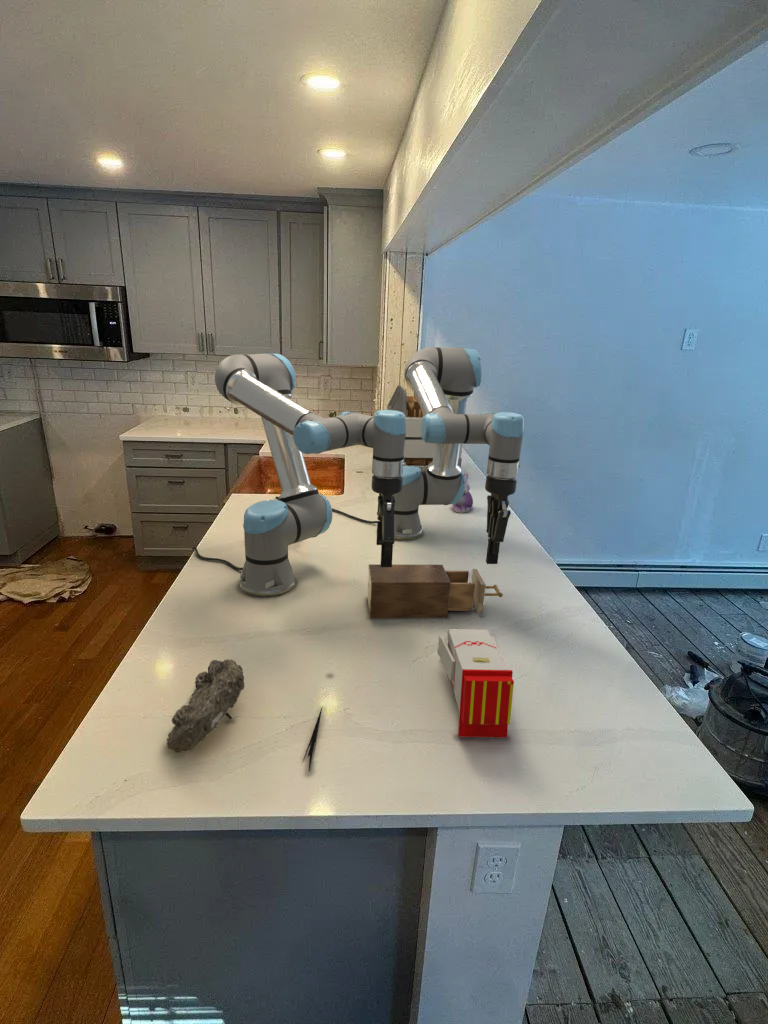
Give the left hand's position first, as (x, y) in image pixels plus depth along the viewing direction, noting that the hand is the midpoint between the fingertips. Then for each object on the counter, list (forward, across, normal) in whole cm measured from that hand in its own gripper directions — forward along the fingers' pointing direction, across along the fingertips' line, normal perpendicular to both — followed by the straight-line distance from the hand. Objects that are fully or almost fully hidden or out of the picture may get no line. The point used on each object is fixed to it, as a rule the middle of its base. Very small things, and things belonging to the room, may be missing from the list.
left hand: (383, 555), depth 145 cm
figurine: (+15, +78, -39) cm, 89 cm away
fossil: (+15, -41, +36) cm, 57 cm away
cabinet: (+15, 0, -7) cm, 17 cm away
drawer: (+14, 0, -19) cm, 24 cm away
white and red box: (+15, -35, -16) cm, 42 cm away
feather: (+15, -43, +15) cm, 48 cm away
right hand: (+2, 0, -28) cm, 28 cm away
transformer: (+15, +130, -29) cm, 135 cm away
